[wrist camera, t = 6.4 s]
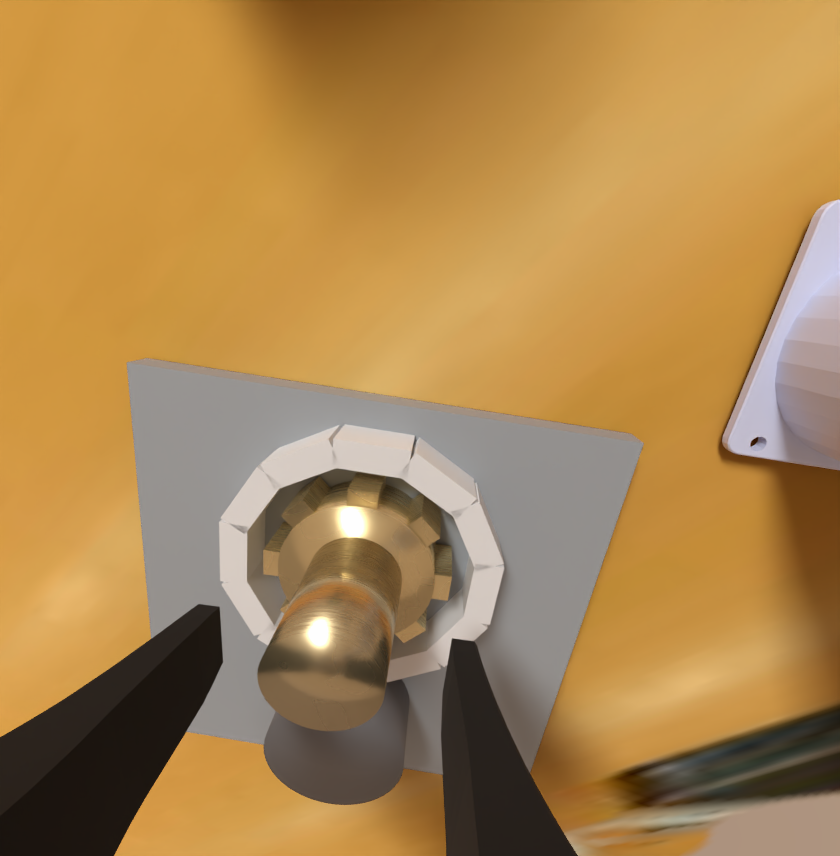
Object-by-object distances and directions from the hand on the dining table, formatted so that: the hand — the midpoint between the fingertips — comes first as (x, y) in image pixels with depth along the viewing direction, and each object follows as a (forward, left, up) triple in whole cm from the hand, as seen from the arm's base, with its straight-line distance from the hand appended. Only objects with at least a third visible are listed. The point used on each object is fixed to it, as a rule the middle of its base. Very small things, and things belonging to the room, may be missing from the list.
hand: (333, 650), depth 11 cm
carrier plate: (0, +3, -6) cm, 6 cm away
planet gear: (0, 0, -5) cm, 5 cm away
